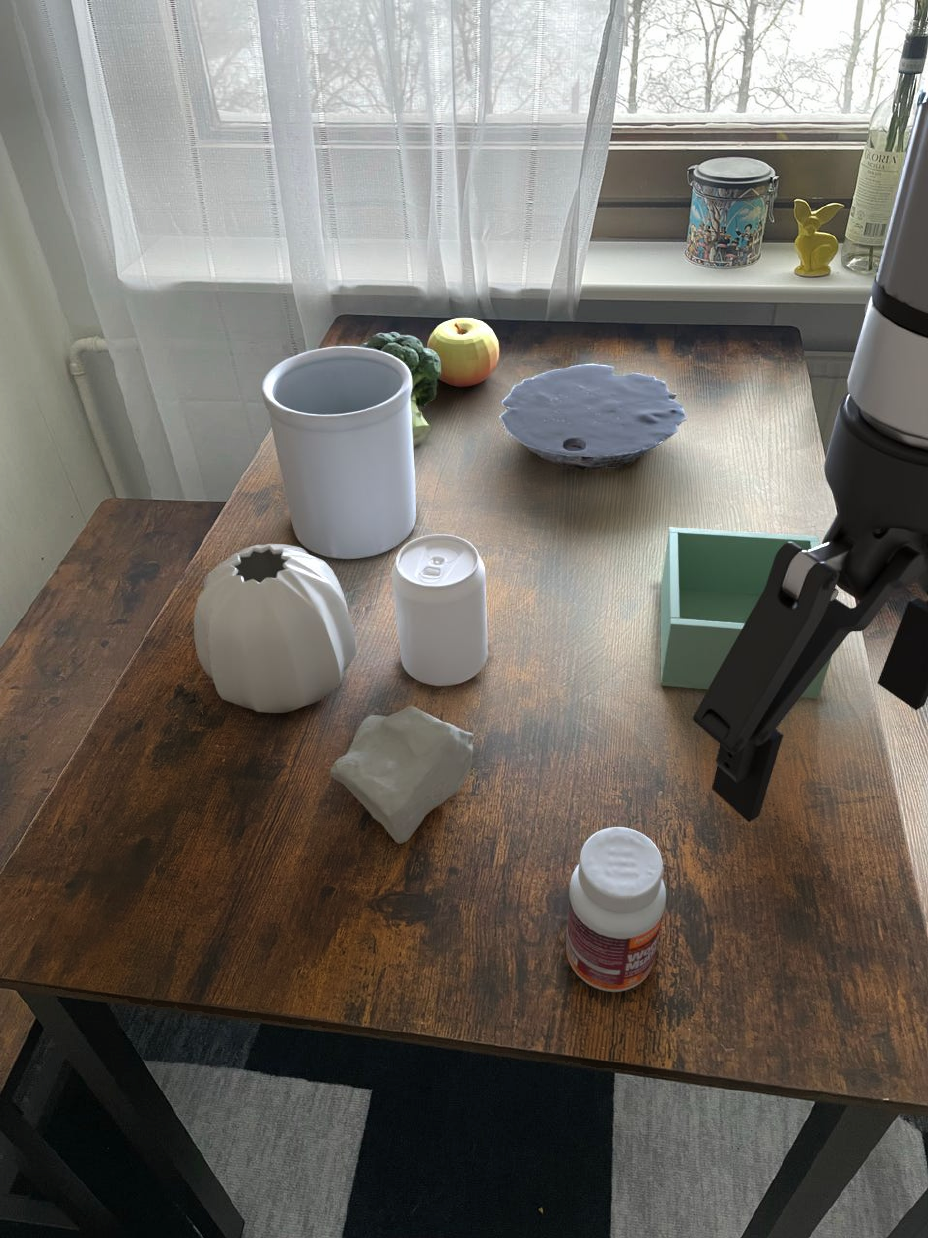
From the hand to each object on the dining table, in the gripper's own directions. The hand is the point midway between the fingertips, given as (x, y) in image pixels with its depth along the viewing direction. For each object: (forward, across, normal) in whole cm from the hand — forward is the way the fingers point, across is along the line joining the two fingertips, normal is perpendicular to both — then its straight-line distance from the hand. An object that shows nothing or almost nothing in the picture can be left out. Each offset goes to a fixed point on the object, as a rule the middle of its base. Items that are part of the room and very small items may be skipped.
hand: (821, 745), depth 52 cm
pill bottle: (+20, +10, -5) cm, 23 cm away
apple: (+20, -28, -80) cm, 87 cm away
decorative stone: (+20, +14, -26) cm, 36 cm away
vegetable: (+20, -15, -75) cm, 79 cm away
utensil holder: (+20, 0, -60) cm, 63 cm away
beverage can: (+20, +4, -36) cm, 41 cm away
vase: (+20, +17, -43) cm, 50 cm away
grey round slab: (+20, -31, -57) cm, 68 cm away
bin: (+20, -20, -22) cm, 36 cm away
